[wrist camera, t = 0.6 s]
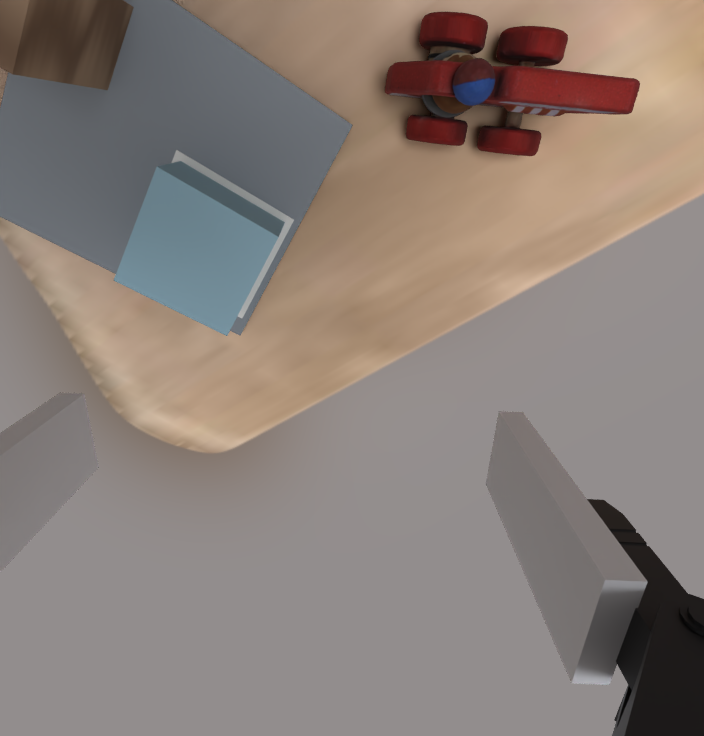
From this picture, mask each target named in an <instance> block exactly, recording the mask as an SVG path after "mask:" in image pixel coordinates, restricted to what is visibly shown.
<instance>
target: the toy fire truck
mask: <svg viewBox="0 0 704 736" xmlns="http://www.w3.org/2000/svg"><path fill="white" fill-rule="evenodd" d="M487 29H488V24H487V21H486V20H484V19H483V18H481V17H479V16H476V15H471V14H466V13H458V12H435V13H430V14H427V15H425V16H424V18H423V20H422V23H421V30H420V37H419V43H420V45H421V46H422V47H423V48H425V49H427V50H430V54H429V56H428V59H429V61H411V62H397V63H394V64H393V65H392V66H390V68H389V70H388V74H387V80H386V86H385V93H386V94H389V95H396V96H404V97H413V98H422V99H423V102H424V104H425V106H426V107H427V109H428V110H429V111H430V112H432V114H431V116H420V115H410V116H409V118H408V123H407V130H406V137H407V138H408V139H409V140H414V141H421V142H429V143H437V144H445V145H456V146H460V145H462V144H463V143H464V142H465V138H466V132H467V127H468V125H467V122H466V121H462V120H455V119H454V117H455V116H457V115H459V114H461V113H463V112H464V111H466V110H468V109H470V108H471V107H472V106H473V105H486V106H494V107H504V108H505V109H506V110H508V114H507V118H506V122H505V126H504V127H495V126H483V127H482V128H481V129H480V132H479V137H478V143H477V147H478V149H479V150H481V151H487V152H494V153H503V154H512V155H523V156H534V155H535V154H536V153H537V151H538V148H539V144H540V140H541V133H540V132H539V131H535V130H526V129H520V128H519V126H520V124H521V120H522V115H523V113H525V114H536V115H547V116H560V115H562V114H564V113H583V114H584V113H597V114H629V113H631V112H632V110H633V107H634V103H635V100H636V97H637V93H638V91H639V86H640V82H639V81H638V80H636V79H634V78H623V77H614V76H606V75H597V74H588V73H580V72H570V71H562V70H553V69H544V68H535V67H534V66H551V65H555V64H558V63H559V62H561V60H562V59H563V57H564V52H565V48H566V44H567V41H568V35H567V34H566V33H565V32H564V31H562V30H559V29H555V28H549V27H538V26H520V27H512V28H508V29H506V30H505V31H503V32H502V33H501V35H500V38H499V43H498V48H497V53H496V55H497V59H498V60H499V61H501V62H504V63H508V64H515V65H519V66H503V67H499V66H491V65H490V63H488V62H487V61H486V60H484V59H482V58H475V57H474V56H473V55H471V54H475V53H478V52H480V51H481V50H482V49H483V47H484V45H485V39H486V34H487Z"/></svg>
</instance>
